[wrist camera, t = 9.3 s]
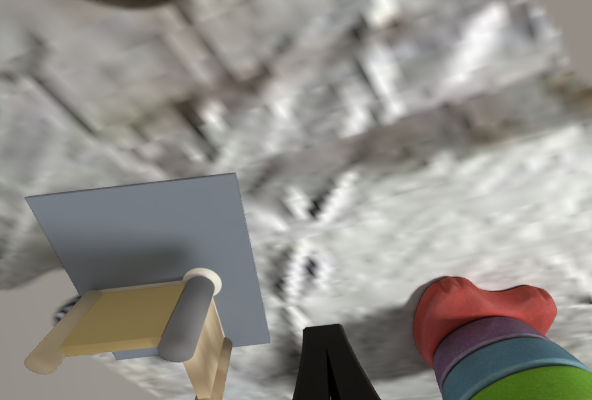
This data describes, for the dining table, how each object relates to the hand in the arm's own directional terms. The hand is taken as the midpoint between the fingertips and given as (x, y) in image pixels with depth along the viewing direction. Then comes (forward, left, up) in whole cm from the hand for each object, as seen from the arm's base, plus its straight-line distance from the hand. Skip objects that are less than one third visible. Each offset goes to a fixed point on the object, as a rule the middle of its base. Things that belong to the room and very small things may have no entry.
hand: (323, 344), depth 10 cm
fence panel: (-4, +12, -9) cm, 15 cm away
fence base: (-8, +8, -9) cm, 15 cm away
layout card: (-4, +11, -9) cm, 15 cm away
